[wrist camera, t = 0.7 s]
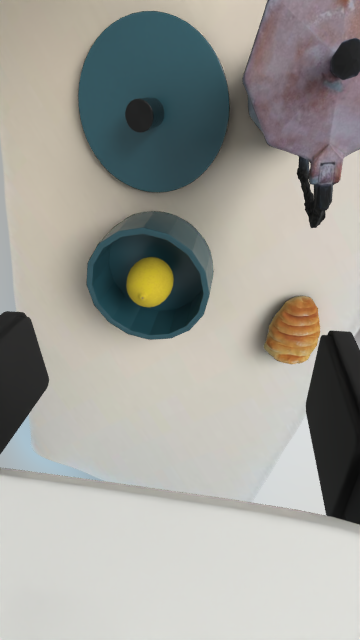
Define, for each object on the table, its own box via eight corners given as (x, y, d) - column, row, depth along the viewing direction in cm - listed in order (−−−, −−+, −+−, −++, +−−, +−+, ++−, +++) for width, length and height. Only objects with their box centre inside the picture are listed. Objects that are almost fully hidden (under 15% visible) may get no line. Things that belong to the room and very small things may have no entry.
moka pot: (358, -33, 28) (522, -214, 11) (345, 170, 36) (429, 239, 19) (238, 0, 30) (227, -108, 13) (251, 185, 38) (255, 258, 21)
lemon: (152, 292, 47) (137, 325, 41) (128, 259, 45) (108, 288, 38) (186, 275, 45) (176, 307, 38) (162, 239, 43) (147, 267, 36)
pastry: (275, 290, 44) (277, 305, 41) (328, 295, 44) (335, 311, 41) (262, 346, 50) (263, 364, 46) (310, 352, 49) (314, 370, 46)
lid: (60, 37, 33) (27, 28, 28) (219, -9, 30) (213, -30, 25) (107, 199, 41) (88, 214, 36) (236, 178, 38) (235, 191, 33)
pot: (90, 219, 43) (69, 237, 38) (203, 202, 40) (197, 220, 34) (122, 316, 51) (107, 342, 45) (219, 308, 47) (216, 335, 42)
